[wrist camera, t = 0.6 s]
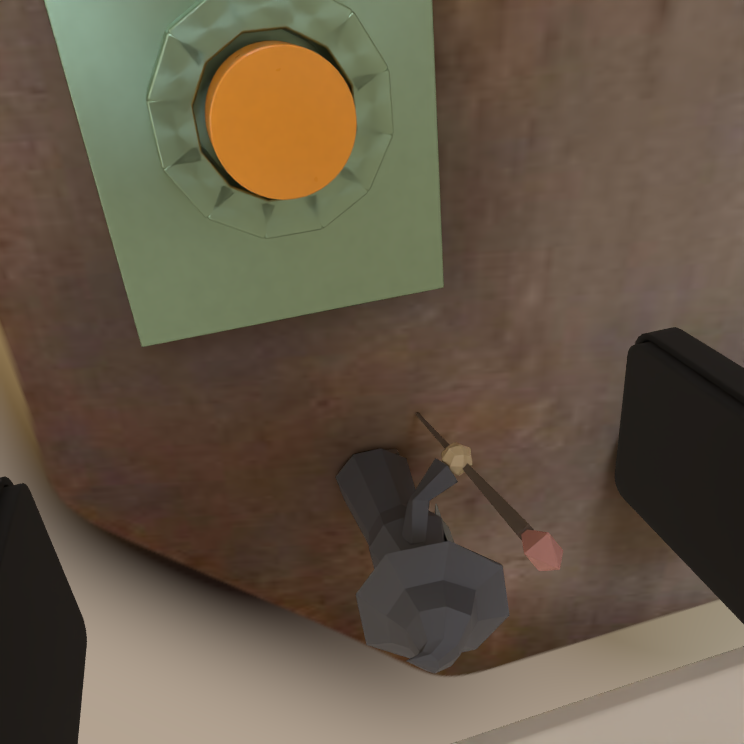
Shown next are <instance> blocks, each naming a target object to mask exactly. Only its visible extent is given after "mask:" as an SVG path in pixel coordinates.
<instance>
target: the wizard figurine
mask: <svg viewBox="0 0 744 744" xmlns="http://www.w3.org/2000/svg"><path fill="white" fill-rule="evenodd" d="M416 415H417V417H418V418H419V419H420V420H421V421H422V422H423V424H424V425H425V426H426V427H427V428H428V429H429V431H430V432H431V433H432V434H433V435H434V436H435V438H436V439H437V440H438V441H439V442H440V443H441V445H442V446H443V447H444V448H445V450H444V451H443V452H442V453H441V454H442V462H441V461H439V460H438V459H436V458H435V460H434V461H433V463H432V464H431V466H430V468H429V469H428V471H427V472H426V474H425V475H424V477H423V479H422V480H421V482H420V483H419V485H418V487H417V488H416V490H415V487H414V483H413V480H412V476H411V473H410V470H409V466H408V463H407V459H406V458H404V457H402V456H399V452H398V451H397V449H388V450H384V449H376V450H372V451H367V452H363V453H359V454H354V455H353V456H352V457H351V458H350V459H349V461H348V462H347V463H346V464H345V466H344V467H343V468H342V469H341V471H340V472H339V473H338V475H337V476H336V480H337V482H338V485H339V487H340V490H341V493H342V495H343V498H344V500H345V502H346V504H347V506H348V507H349V509H350V511H351V513H352V515H353V517H354V519H355V520H356V522H357V524H358V526H359V528H360V530H361V531H362V533H363V535H364V537H365V539H366V541H367V542H368V544H369V550H370V554H371V558H372V562H373V565H374V571H373V572H372V573H371V575H370V576H369V577H368V579H367V580H366V581H365V583H364V584H363V585H362V587H361V588H360V589H359V591H358V592H357V593H356V598H357V603H358V607H359V612H360V617H361V621H362V626H363V630H364V635H365V639H366V644H367V645H369V646H372V647H375V648H379V649H382V650H385V651H388V652H391V653H395V654H398V655H401V656H404V657H407V658H410V659H409V660H407V661H408V662H410V663H412V664H414V665H416V666H418V667H420V668H422V669H424V670H426V671H429V672H432V673H437V672H439V671H441V670H443V669H446V668H448V667H450V666H452V664H453V663H454V662H455V661H456V659H457V658H458V657H459V656H460V654H461V652H465V651H470V650H474V649H477V648H478V647H479V646H480V645H481V644H482V643H483V642H484V641H485V640H486V639H487V638H488V637H489V636H490V634H491V633H492V632H493V631H494V630H495V629H496V628H497V627H498V626H499V625H500V624H501V623H502V622H503V621H504V620H505V619H506V618H507V617H508V616H509V609H508V602H507V595H506V588H505V580H504V573H503V566H502V565H501V564H500V563H497V562H495V561H493V560H491V559H488V558H486V557H484V556H482V555H480V554H477V553H475V552H473V551H471V550H468V549H466V548H464V547H462V546H460V545H457V544H455V543H454V540H453V538H452V535H451V532H450V530H449V527H448V526H447V525H446V524H445V523H444V521H443V520H442V518H441V515H440V513H439V510H438V507H437V504H436V506H435V514H434V513H432V512H430V511H428V509H429V501H430V500H431V499H433V498H434V497H436V496H437V495H439V494H440V493H442V492H443V491H445V490H446V489H448V488H449V487H451V486H452V485H454V484H455V483H457V482H458V481H457V480H456V478H455V476H454V475H453V474H455V475H457V476H459V475H461V474H462V473H464V472H465V473H466V474H467V475H468V476H469V478H470V479H471V480H472V481H473V482H474V484H475V485H476V486H477V487H478V488H479V490H480V491H481V492H482V493H483V494H484V496H485V497H486V498H487V499H488V500H489V502H490V503H491V504H492V505H493V506H494V508H495V509H496V510H497V511H498V513H499V514H500V515H501V516H502V517H503V519H504V520H505V521H506V522H507V523H508V525H509V526H510V527H511V528H512V529H513V531H514V532H515V533H516V534H517V535H518V537H519V538H520V539H521V540H522V542H523V549H524V554H525V555H526V556H527V557H528V559H529V560H530V561H531V562H532V563H533V564H534V565H535V567H536V568H537V569H538V570H539V571H547V570H559V569H560V565H561V560H562V554H563V550H562V548H561V547H560V546H559V545H558V543H557V542H556V541H555V540H554V539H553V537H552V536H551V535H550V534H549V533H548V532H541V531H535V530H533V528H532V527H531V526H530V525H529V524H528V523H527V522H526V521H525V520H524V519H523V518H522V517H521V516H520V515H519V514H518V513H517V512H516V511H515V510H514V509H513V508H512V507H511V506H510V505H509V504H508V503H507V502H506V501H505V500H504V499H503V498H502V497H501V496H500V495H499V494H498V493H497V492H496V491H495V490H494V489H493V488H492V487H491V486H490V485H489V484H488V483H487V482H486V481H485V480H484V479H483V478H482V477H481V476H480V475H479V474H478V473H477V472H476V471H475V470H474V469H473V468H472V467H471V465H472V458H471V448H469V447H466V446H463V445H461V444H459V443H457V442H454V443H452V444H451V445H449V444H448V443H447V442H446V441H445V440H444V439H443V438H442V437H441V436H440V434H439V433H438V432H437V431H436V430H435V429H434V428H433V427H432V426H431V425H430V424H429V423H428V422H427V421H426V420H425V419H424V418H423V417H422V416H421V415H420V414H419V413H416Z"/></svg>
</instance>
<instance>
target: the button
mask: <svg viewBox="0 0 744 744" xmlns="http://www.w3.org/2000/svg"><path fill="white" fill-rule="evenodd" d="M205 122H206V128H207V132H208V136H209V138H210V141H211V143H212V146H213V148H214V150H215V152H216V155H217V157H218V159H219V160H220V162H221V164H222V165H223V167H224V168H225V170H226V171H227V172H228V173H229V175H230V176H231V177H232V178H233V179H234V180H235V181H237V182H238V183H239V184H240V185H241V186H243V187H244V188H246V189H248V190H249V191H251V192H253V193H255V194H258V195H260V196H263V197H267V198H271V199H277V200H290V199H297V198H302V197H305V196H308V195H311V194H313V193H315V192H317V191H319V190H321V189H322V188H324V187H325V186H327V185H328V184H329V183H330V182H331V181H332V180H334V179H335V178H336V176H337V175H338V174H339V173H340V172H341V171H342V169H343V167H344V166H345V164H346V163H347V161H348V159H349V157H350V155H351V152H352V149H353V146H354V142H355V137H356V129H357V117H356V109H355V104H354V101H353V97H352V94H351V92H350V89H349V87H348V85H347V83H346V82H345V80H344V78H343V77H342V75H341V74H340V73H339V72H338V70H337V69H336V68H335V67H334V66H333V65H332V64H331V63H330V62H329V61H328V60H326V59H325V58H324V57H322V56H321V55H319V54H317V53H316V52H314V51H312V50H309V49H307V48H304V47H302V46H298V45H295V44H291V43H287V42H283V41H274V40H273V41H261V42H256V43H253V44H250V45H247V46H245V47H243V48H241V49H239V50H237V51H236V52H234V53H233V54H232V55H230V56H229V57H228V58H227V59H226V60H225V61H224V62H223V63H222V64H221V66H220V67H219V68H218V69H217V71H216V73H215V74H214V76H213V78H212V80H211V83H210V85H209V87H208V91H207V95H206V101H205Z"/></svg>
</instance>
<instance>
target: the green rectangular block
mask: <svg viewBox="0 0 744 744" xmlns="http://www.w3.org/2000/svg"><path fill="white" fill-rule="evenodd" d="M44 3H45V7H46V10H47V14H48V17H49V21H50V24H51V28H52V31H53V35H54V39H55V42H56V46H57V49H58V53H59V56H60V60H61V63H62V67H63V70H64V74H65V78H66V81H67V85H68V88H69V92H70V95H71V99H72V102H73V106H74V109H75V113H76V116H77V120H78V124H79V127H80V131H81V134H82V138H83V141H84V145H85V148H86V152H87V155H88V159H89V163H90V166H91V170H92V173H93V177H94V180H95V184H96V187H97V191H98V194H99V198H100V201H101V205H102V209H103V212H104V216H105V219H106V223H107V226H108V230H109V233H110V237H111V240H112V244H113V248H114V251H115V255H116V258H117V262H118V265H119V269H120V272H121V276H122V279H123V283H124V286H125V290H126V294H127V297H128V301H129V304H130V308H131V311H132V315H133V318H134V322H135V325H136V329H137V332H138V336H139V340H140V343H141V346H142V347H145V346H150V345H156V344H161V343H166V342H171V341H176V340H181V339H186V338H191V337H196V336H201V335H206V334H211V333H216V332H221V331H226V330H231V329H236V328H242V327H247V326H252V325H257V324H262V323H267V322H272V321H277V320H282V319H287V318H292V317H297V316H302V315H307V314H312V313H317V312H322V311H328V310H333V309H338V308H343V307H348V306H353V305H358V304H363V303H368V302H373V301H378V300H383V299H388V298H393V297H398V296H403V295H409V294H414V293H419V292H424V291H429V290H434V289H439V288H443V287H444V280H443V255H442V230H441V205H440V181H439V156H438V131H437V106H436V81H435V56H434V31H433V7H432V0H44ZM273 40H274V41H283V42H287V43H291V44H295V45H298V46H302V47H304V48H307V49H309V50H312V51H314V52H316V53H317V54H319V55H321V56H322V57H324V58H325V59H326V60H328V61H329V62H330V63H331V64H332V65H333V66H334V67H335V68H336V69H337V70H338V72H339V73H340V74H341V75H342V77H343V78H344V80H345V82H346V83H347V85H348V87H349V89H350V92H351V94H352V97H353V101H354V104H355V109H356V117H357V129H356V137H355V142H354V146H353V149H352V152H351V155H350V157H349V159H348V161H347V163H346V164H345V166H344V167H343V169H342V171H341V172H340V173H339V174H338V175H337V176H336V178H335V179H334V180H332V181H331V182H330V183H329V184H328V185H327V186H325V187H324V188H322V189H321V190H319V191H317V192H315V193H313V194H311V195H308V196H305V197H302V198H297V199H290V200H277V199H271V198H267V197H263V196H260V195H258V194H255V193H253V192H251V191H249V190H248V189H246V188H244V187H243V186H241V185H240V184H239V183H238V182H237V181H235V180H234V179H233V178H232V177H231V176H230V175H229V173H228V172H227V171H226V170H225V168H224V167H223V165H222V164H221V162H220V160H219V159H218V157H217V155H216V152H215V150H214V148H213V146H212V143H211V141H210V138H209V136H208V132H207V128H206V122H205V101H206V95H207V91H208V87H209V85H210V83H211V80H212V78H213V76H214V74H215V73H216V71H217V69H218V68H219V67H220V66H221V64H222V63H223V62H224V61H225V60H226V59H227V58H228V57H229V56H230V55H232V54H233V53H234V52H236V51H237V50H239V49H241V48H243V47H245V46H247V45H250V44H253V43H256V42H261V41H273Z"/></svg>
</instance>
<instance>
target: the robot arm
mask: <svg viewBox="0 0 744 744" xmlns="http://www.w3.org/2000/svg"><path fill="white" fill-rule="evenodd" d="M615 482H616V486H617V489H618V491H619V493H620V495H621V496H622V497H623V498H624V499H625V500H626V502H627V503H628V504H629V505H630V506H631V507H632V508H633V509H634V510H635V511H636V512H637V513H638V514H639V515H640V516H641V517H642V518H643V519H644V520H645V521H646V522H647V523H648V525H649V526H650V527H651V528H652V529H653V530H654V531H655V532H656V533H657V534H658V535H659V536H660V537H661V538H662V539H663V540H664V541H665V542H666V543H667V544H668V545H669V546H670V548H671V549H672V550H673V551H674V552H675V553H676V554H677V555H678V556H679V557H680V558H681V559H682V560H683V561H684V562H685V563H686V564H687V565H688V566H689V567H690V568H691V569H692V571H693V572H694V573H695V574H696V575H697V576H698V577H699V578H700V579H701V580H702V581H703V582H704V583H705V584H706V585H707V586H708V587H709V588H710V589H711V590H712V591H713V592H714V594H715V595H716V596H717V597H718V598H719V599H720V600H721V601H722V602H723V603H724V604H725V605H726V606H727V607H728V608H729V609H730V610H731V611H732V612H733V613H734V614H735V615H736V617H737V618H738V619H739V620H740V621H741V622H742V623H743V624H744V368H743V367H741V366H740V365H738V364H736V363H735V362H733V361H732V360H730V359H728V358H727V357H725V356H723V355H722V354H720V353H719V352H717V351H715V350H714V349H712V348H710V347H709V346H707V345H706V344H704V343H702V342H701V341H699V340H697V339H696V338H694V337H693V336H691V335H689V334H688V333H686V332H685V331H683V330H681V329H679V328H676V327H674V328H668V329H663V330H659V331H654V332H650V333H645V334H642V335H641V336H639V337H638V339H637V340H636V343H635V345H633V346H632V347H630V349H629V351H628V356H627V365H626V375H625V384H624V393H623V403H622V412H621V421H620V431H619V440H618V450H617V459H616V468H615ZM86 647H87V636H86V628H85V624H84V620H83V617H82V614H81V612H80V610H79V607H78V605H77V602H76V600H75V598H74V595H73V593H72V591H71V588H70V586H69V583H68V581H67V578H66V576H65V574H64V571H63V569H62V566H61V564H60V562H59V559H58V557H57V554H56V552H55V549H54V547H53V545H52V542H51V540H50V538H49V535H48V533H47V530H46V528H45V525H44V523H43V521H42V518H41V516H40V513H39V511H38V509H37V506H36V504H35V501H34V499H33V497H32V494H31V492H30V490H29V488H28V486H27V485H26V484H24V483H22V484H17V485H13V483H12V482H11V480H10V479H9V478H7V477H1V478H0V744H78V733H79V723H80V712H81V701H82V689H83V679H84V668H85V657H86ZM452 744H744V646H743V647H740V648H737V649H734V650H731V651H728V652H725V653H722V654H719V655H716V656H713V657H709V658H706V659H704V660H700V661H697V662H694V663H692V664H688V665H685V666H682V667H679V668H676V669H673V670H670V671H667V672H664V673H661V674H658V675H655V676H652V677H649V678H646V679H643V680H640V681H637V682H634V683H631V684H628V685H625V686H622V687H619V688H616V689H613V690H610V691H607V692H604V693H601V694H598V695H595V696H592V697H589V698H586V699H583V700H580V701H577V702H574V703H571V704H568V705H565V706H562V707H559V708H556V709H553V710H550V711H547V712H544V713H542V714H538V715H536V716H532V717H529V718H526V719H524V720H520V721H518V722H515V723H512V724H509V725H506V726H503V727H500V728H497V729H494V730H491V731H488V732H485V733H482V734H479V735H476V736H473V737H470V738H467V739H464V740H461V741H458V742H455V743H452Z"/></svg>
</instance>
